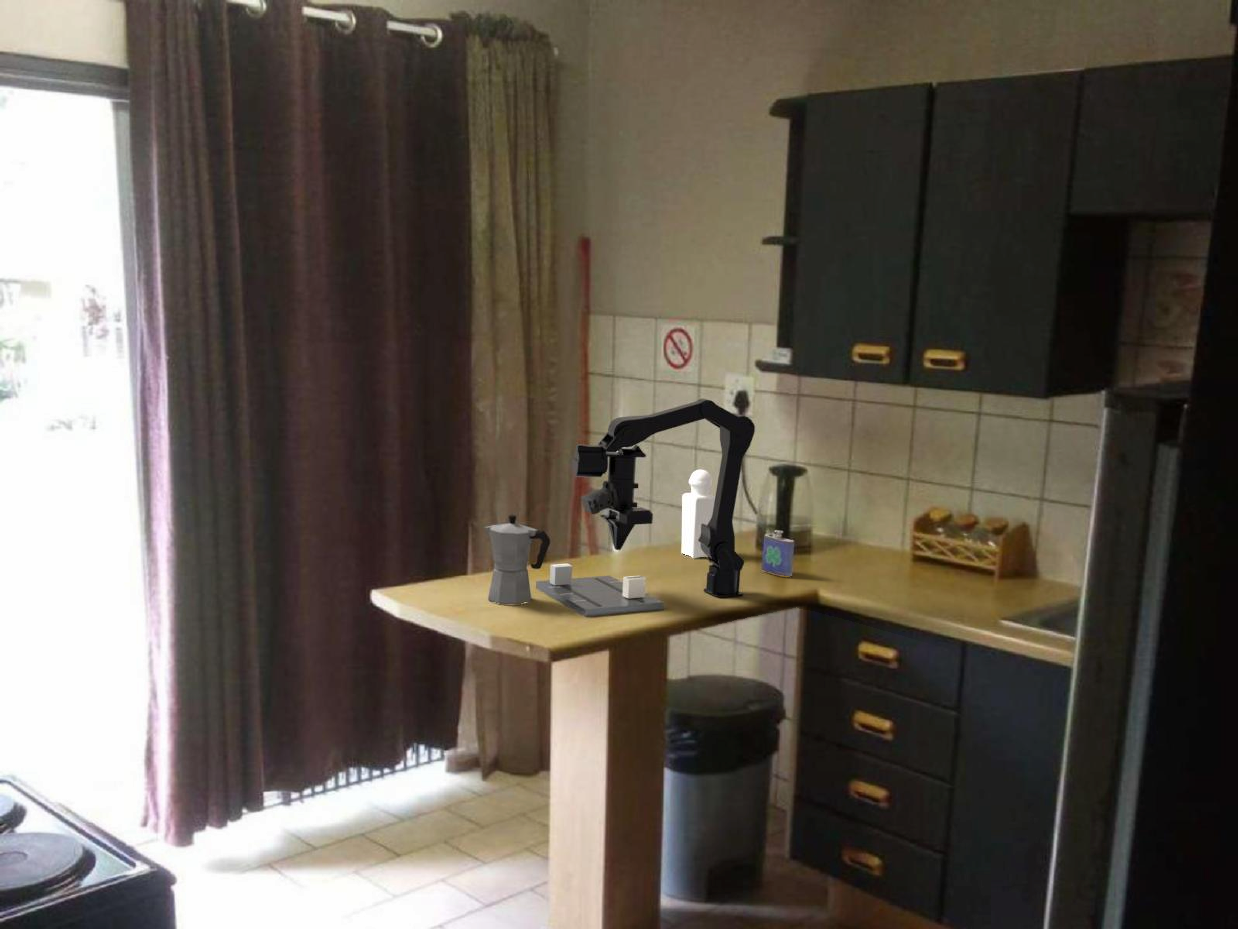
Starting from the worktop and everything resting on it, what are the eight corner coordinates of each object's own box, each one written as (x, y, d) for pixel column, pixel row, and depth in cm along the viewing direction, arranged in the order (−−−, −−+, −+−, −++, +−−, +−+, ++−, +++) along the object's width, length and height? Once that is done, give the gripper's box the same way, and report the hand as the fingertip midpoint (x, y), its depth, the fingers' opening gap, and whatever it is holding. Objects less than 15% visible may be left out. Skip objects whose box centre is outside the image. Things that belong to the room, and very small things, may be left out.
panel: (608, 582, 257) (609, 575, 257) (663, 609, 237) (663, 601, 236) (535, 588, 249) (536, 580, 249) (585, 616, 228) (585, 608, 228)
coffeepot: (470, 599, 237) (473, 514, 234) (493, 590, 245) (496, 507, 243) (536, 611, 230) (539, 523, 228) (557, 601, 239) (561, 516, 237)
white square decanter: (692, 559, 285) (697, 472, 282) (678, 553, 291) (683, 468, 288) (714, 557, 288) (719, 471, 285) (699, 552, 294) (704, 467, 291)
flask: (794, 577, 271) (797, 533, 269) (785, 579, 269) (788, 534, 267) (766, 569, 278) (769, 526, 276) (757, 571, 276) (760, 527, 274)
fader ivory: (639, 594, 241) (640, 575, 241) (644, 597, 239) (645, 577, 239) (622, 595, 239) (623, 576, 239) (628, 598, 237) (629, 579, 237)
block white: (566, 581, 249) (567, 563, 249) (571, 584, 247) (572, 565, 246) (549, 582, 247) (550, 564, 247) (554, 585, 245) (555, 566, 244)
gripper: (568, 471, 247) (564, 542, 249) (608, 485, 230) (604, 561, 233) (613, 470, 252) (609, 540, 254) (656, 484, 236) (651, 558, 238)
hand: (617, 549), depth 245 cm, fingers closed
